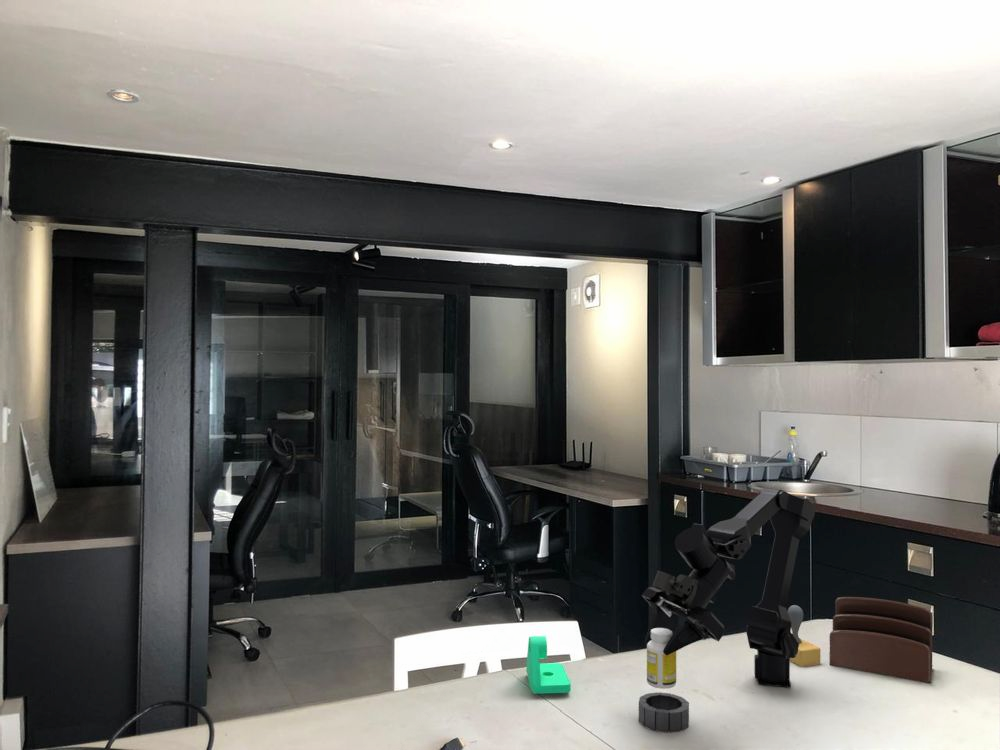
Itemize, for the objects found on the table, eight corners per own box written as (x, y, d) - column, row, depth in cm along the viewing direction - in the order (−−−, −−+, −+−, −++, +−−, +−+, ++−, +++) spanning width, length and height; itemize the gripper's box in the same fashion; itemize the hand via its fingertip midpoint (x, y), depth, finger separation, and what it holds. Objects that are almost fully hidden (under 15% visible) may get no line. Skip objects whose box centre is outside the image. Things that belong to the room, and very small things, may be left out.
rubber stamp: (770, 652, 181) (770, 600, 181) (790, 649, 183) (791, 598, 183) (800, 667, 172) (800, 612, 172) (821, 664, 174) (821, 610, 174)
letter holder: (835, 652, 182) (835, 592, 182) (932, 669, 171) (932, 605, 171) (828, 666, 173) (829, 602, 173) (930, 684, 163) (931, 617, 163)
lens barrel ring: (689, 714, 147) (689, 695, 147) (688, 735, 139) (688, 715, 139) (641, 708, 150) (641, 690, 150) (636, 728, 141) (637, 709, 141)
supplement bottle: (678, 680, 147) (678, 628, 146) (674, 691, 141) (674, 637, 141) (649, 676, 148) (649, 624, 148) (644, 687, 143) (644, 634, 143)
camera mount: (571, 698, 155) (571, 646, 155) (533, 699, 154) (533, 647, 154) (561, 675, 167) (562, 627, 167) (526, 676, 166) (526, 627, 166)
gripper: (649, 545, 155) (602, 608, 151) (711, 566, 138) (659, 637, 133) (682, 581, 158) (636, 643, 154) (746, 605, 141) (697, 676, 137)
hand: (655, 648), depth 144 cm, fingers closed on supplement bottle, 5 cm apart
